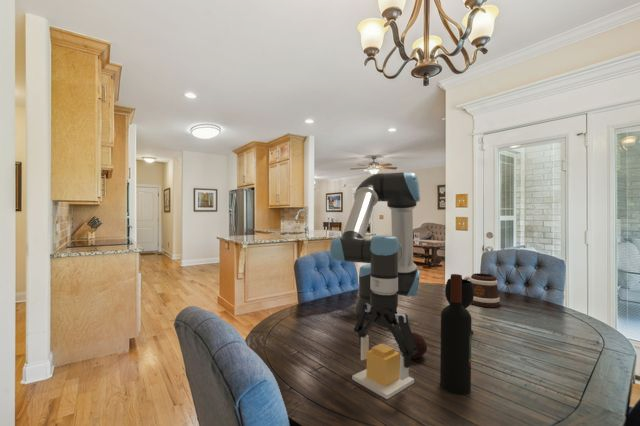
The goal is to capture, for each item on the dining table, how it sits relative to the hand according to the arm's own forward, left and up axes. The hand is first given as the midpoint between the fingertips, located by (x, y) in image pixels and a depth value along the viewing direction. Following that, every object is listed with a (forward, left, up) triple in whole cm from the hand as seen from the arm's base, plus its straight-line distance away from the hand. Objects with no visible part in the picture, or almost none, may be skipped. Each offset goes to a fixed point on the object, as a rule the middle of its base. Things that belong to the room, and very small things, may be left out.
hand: (383, 368), depth 85 cm
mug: (-16, +101, -4) cm, 102 cm away
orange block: (0, 0, -2) cm, 3 cm away
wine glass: (-4, +53, -4) cm, 53 cm away
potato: (-3, +19, -4) cm, 19 cm away
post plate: (0, 0, -3) cm, 4 cm away
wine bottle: (+14, +13, -4) cm, 19 cm away
